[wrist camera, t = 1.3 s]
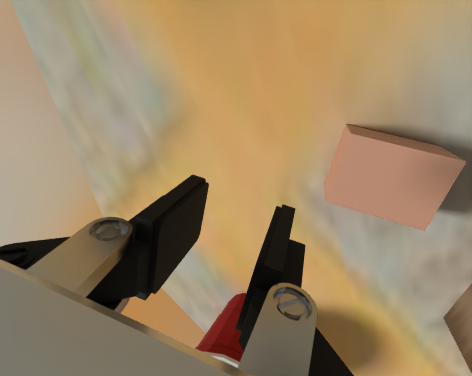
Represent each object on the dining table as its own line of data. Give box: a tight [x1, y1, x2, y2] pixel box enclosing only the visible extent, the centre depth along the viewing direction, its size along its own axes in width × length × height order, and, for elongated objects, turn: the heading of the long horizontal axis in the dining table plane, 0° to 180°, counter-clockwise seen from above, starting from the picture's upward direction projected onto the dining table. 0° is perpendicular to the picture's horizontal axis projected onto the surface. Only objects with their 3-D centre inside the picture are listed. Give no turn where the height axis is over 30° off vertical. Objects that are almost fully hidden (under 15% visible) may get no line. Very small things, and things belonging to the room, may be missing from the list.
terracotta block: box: [324, 124, 466, 231], centre depth 23 cm, size 6×8×5 cm
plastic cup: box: [195, 293, 246, 368], centre depth 31 cm, size 11×11×12 cm
